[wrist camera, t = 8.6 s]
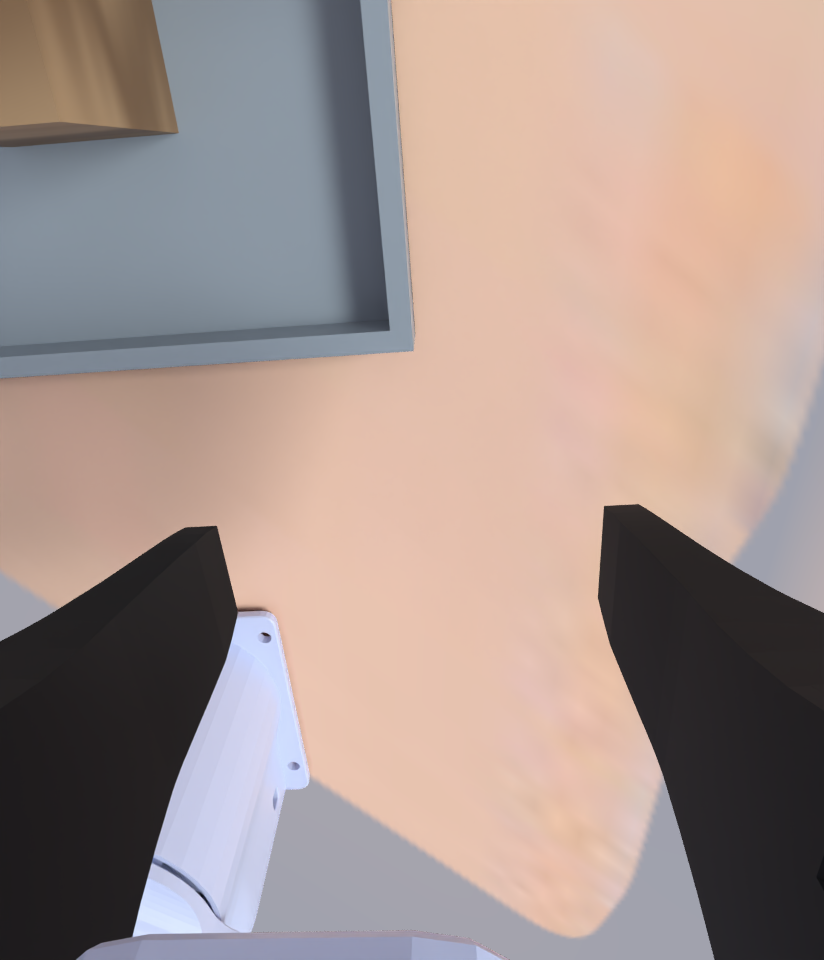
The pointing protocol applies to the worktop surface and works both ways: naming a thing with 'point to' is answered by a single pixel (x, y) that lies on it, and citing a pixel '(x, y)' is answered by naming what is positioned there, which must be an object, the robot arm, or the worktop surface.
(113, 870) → the robot arm
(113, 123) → the block
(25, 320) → the tray
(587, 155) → the worktop surface
